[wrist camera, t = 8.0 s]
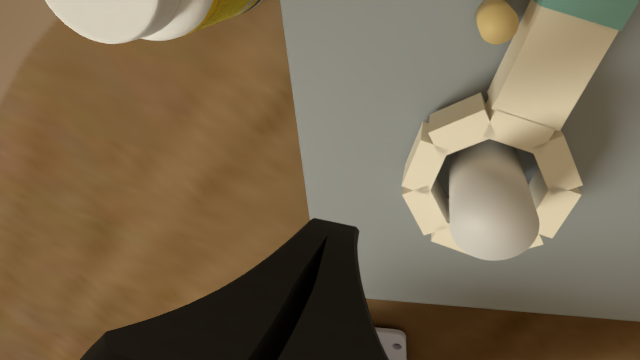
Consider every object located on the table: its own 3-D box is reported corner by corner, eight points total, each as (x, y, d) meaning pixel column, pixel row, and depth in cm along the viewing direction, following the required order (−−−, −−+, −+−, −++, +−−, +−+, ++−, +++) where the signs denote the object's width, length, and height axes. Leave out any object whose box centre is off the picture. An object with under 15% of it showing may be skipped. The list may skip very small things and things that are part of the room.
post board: (648, 304, 22) (710, 419, 17) (325, 280, 26) (295, 365, 21) (759, -76, 15) (929, -80, 9) (286, -26, 19) (226, -10, 14)
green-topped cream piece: (520, 246, 20) (527, 276, 19) (390, 200, 21) (385, 225, 19) (688, -20, 15) (722, -13, 13) (502, -75, 15) (510, -76, 13)
